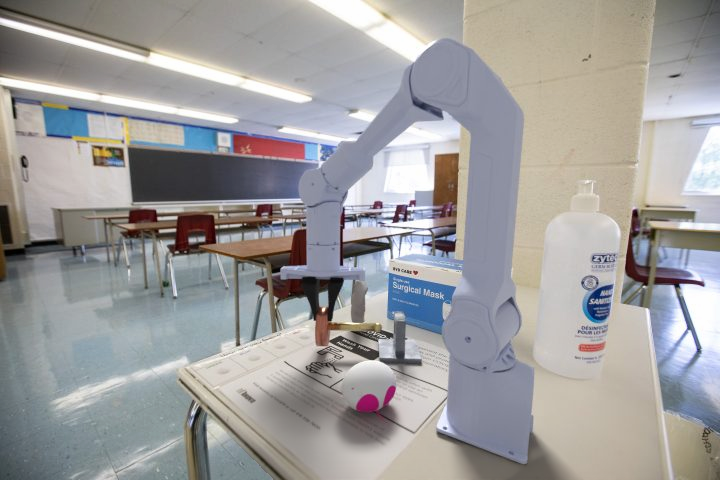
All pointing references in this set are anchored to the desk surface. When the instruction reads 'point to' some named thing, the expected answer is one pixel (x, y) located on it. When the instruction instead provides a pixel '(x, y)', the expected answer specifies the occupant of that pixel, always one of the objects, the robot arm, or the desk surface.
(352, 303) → the fossil
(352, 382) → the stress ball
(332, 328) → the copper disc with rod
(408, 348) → the eye post
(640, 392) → the desk surface
